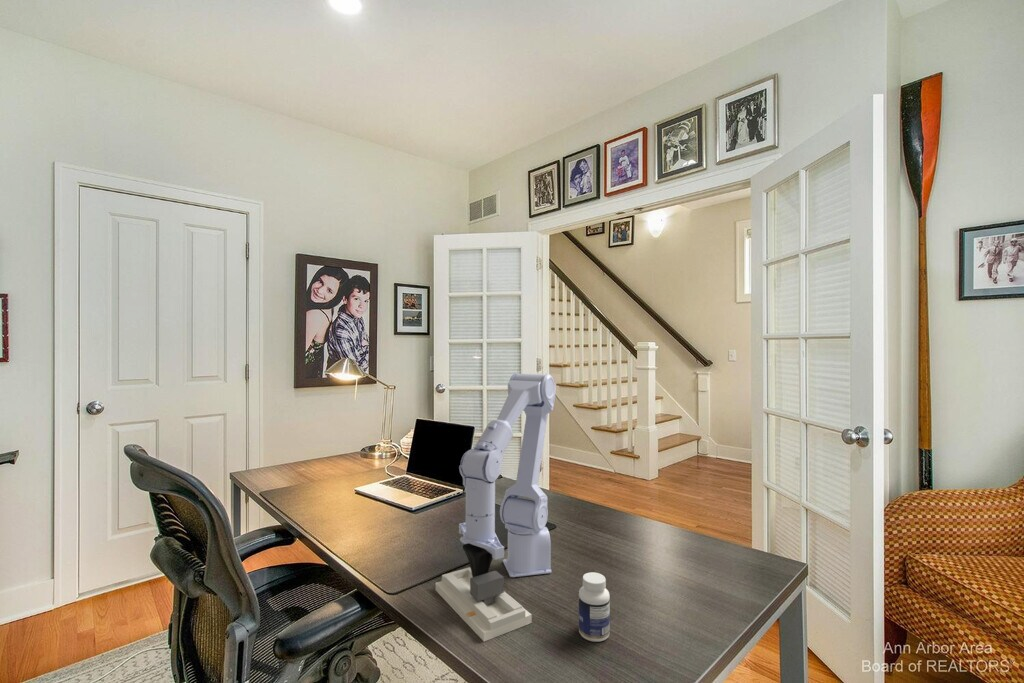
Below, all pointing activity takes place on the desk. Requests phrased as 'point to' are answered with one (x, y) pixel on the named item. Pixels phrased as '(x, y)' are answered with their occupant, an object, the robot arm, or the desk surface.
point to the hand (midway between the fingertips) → (479, 582)
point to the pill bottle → (594, 608)
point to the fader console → (481, 607)
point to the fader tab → (487, 587)
